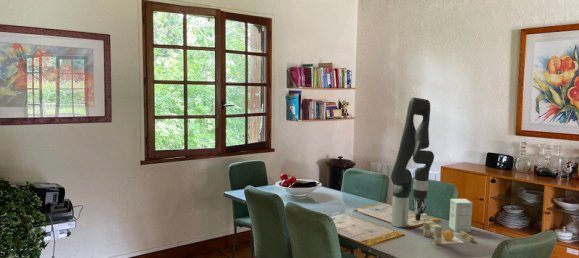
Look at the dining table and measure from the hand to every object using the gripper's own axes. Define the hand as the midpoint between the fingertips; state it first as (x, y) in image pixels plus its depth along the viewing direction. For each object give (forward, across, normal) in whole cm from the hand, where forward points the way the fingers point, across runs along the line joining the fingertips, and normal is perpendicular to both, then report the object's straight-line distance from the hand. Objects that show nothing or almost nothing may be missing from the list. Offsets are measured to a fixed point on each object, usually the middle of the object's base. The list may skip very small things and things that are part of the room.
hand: (417, 220), depth 238 cm
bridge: (+11, 0, -9) cm, 14 cm away
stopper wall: (+10, +1, -29) cm, 30 cm away
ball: (+8, -1, -17) cm, 19 cm away
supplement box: (+11, +16, -33) cm, 38 cm away
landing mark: (+10, 0, -18) cm, 20 cm away
